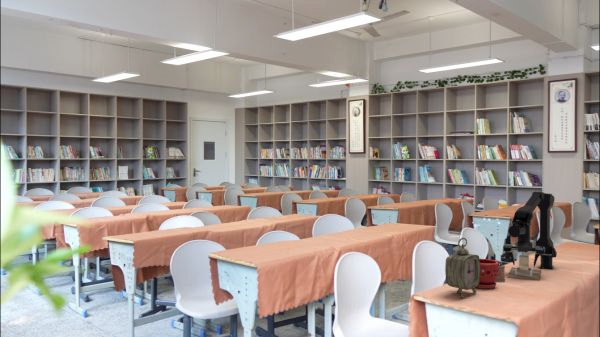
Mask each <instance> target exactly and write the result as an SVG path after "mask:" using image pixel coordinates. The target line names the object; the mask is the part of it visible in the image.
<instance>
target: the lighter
mask: <svg viewBox="0 0 600 337" xmlns="http://www.w3.org/2000/svg"><path fill="white" fill-rule="evenodd" d="M494 261H497V262H498V263H499V267H498V275H497V278H496V280H495V282H496V283H502V282H503V283H504V282H506V279H505V276H506V275H505V274H506V272H505V268H506V266H505V265H503V261H502V260H498V259H496V260H494ZM488 271H489V270H488ZM493 272H494V271H493Z"/></svg>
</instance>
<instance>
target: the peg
mask: <svg viewBox="0 0 600 337" xmlns="http://www.w3.org/2000/svg"><path fill="white" fill-rule="evenodd" d="M518 257H519V258H518V262H519V263H518V267H519V270H526V271H529V268H530V267H529V266H530V260H529V258H530V256H529V255H526V254H525V255H524V254H520V255H519V256H518Z"/></svg>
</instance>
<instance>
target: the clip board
mask: <svg viewBox="0 0 600 337" xmlns="http://www.w3.org/2000/svg"><path fill="white" fill-rule="evenodd" d="M541 273H542V269H535V268H533V267H529V271H526V270H519V266H516V267H514V266H512V267H511V268H510V270H509V272H508V273H507V278H509V279H518V280H527V281H529V280H530V281H537V282H538V281H540V278H541Z"/></svg>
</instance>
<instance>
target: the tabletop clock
mask: <svg viewBox="0 0 600 337" xmlns="http://www.w3.org/2000/svg"><path fill="white" fill-rule="evenodd" d="M463 240H464V241H465V244H464V243H462V244H461V245H460V242H461V241H463ZM467 245H468V240H467V238H465V237H461V238H460V239H459V240H458V242H457V246H458V247H459V248H458V249H457V251H456V253H454V254H451V255H449V256H447V257H446V258H445V266H444V271H445V283H446V285H447V286H448V287H452V288H456V289H457V290H456V294H459V298H460V299H463V298H464V294H463V290H466V291H468V290H472V293H473V294H476V293H477V289H475V288H477V287H476V286H478V284H479V282H480V259H481V258H480V256H479V255H478V254H472V253H469V250H468V249H467V248H465V247H466V246H467Z"/></svg>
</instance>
